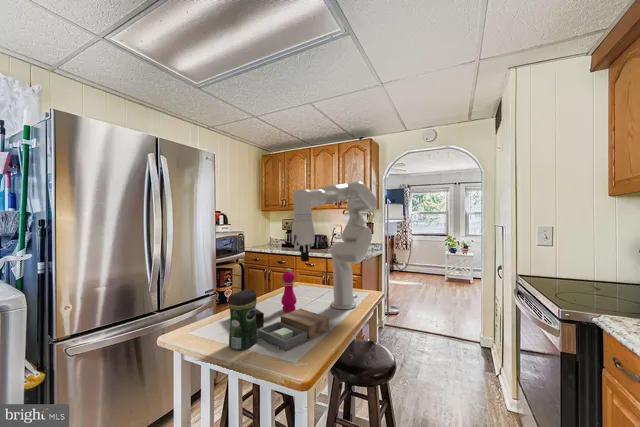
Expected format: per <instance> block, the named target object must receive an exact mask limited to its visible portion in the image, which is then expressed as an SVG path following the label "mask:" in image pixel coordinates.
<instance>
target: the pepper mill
mask: <svg viewBox="0 0 640 427" xmlns="http://www.w3.org/2000/svg"><path fill="white" fill-rule="evenodd" d="M281 277H282V278H281V279H282V280H283V283H282V284H283V286H284V292H283V294H282V297H281V301H280V302H281V305H283V306H282V311H283V312H284V313H290V312H293V311H295V310H297V309H296V304H297V296H296V294H295V292H294V284H295V283H294V282H295V279H296V276H295V273H294V272H293V271H291V268H290V267H289V268H286V271H285V272H284V273H283V274H282V276H281Z"/></svg>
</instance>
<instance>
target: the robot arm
mask: <svg viewBox="0 0 640 427" xmlns="http://www.w3.org/2000/svg"><path fill="white" fill-rule="evenodd" d="M292 201H293V202H292V203H293V218H294V219H293V221H294V222H292V228H291V244H292V245H293V246H294V249H295V250H298V251H299V253H300V259H301V260H300V261H301V262H306V263H307V262H309V261H310V253H309V252H310V250H311V248H312V247H313V246H315V241H316V239H315V237H316V234H315V228H314V222H313V215H312V207H320V206H321V207H322V206H323V205H325V204H334V203H335V204H336V203H338V202H343V201H346V206H347V210H348V214H349V218H348V220H347V223H346V224H345V227H344V228H343V231H342V233H341V239H342V240H341V241H342V242H340V241H337V242H336V243H334V244H333V245H332V247H331V249H330V255H331V256H330V257H331V259H332V266H333V267H332V268H333V269H332V270H333V274H332V275H333V276H332V277H333V301H331V302H330V306H331V307H332V308H333V309H337V310H351V309H355V307H357V303H356V301H355V299H357V298H358V295H357V294H354V293H353V292H354V290H353V288H354V287H353V286H354V284H353V280H354V279H353V267H352V265H351V263H355V264H359V263H361V262H362V261H363V260H364V259H365V257H366V255H367V253H368V251H369V248H370V245H371V243H372V240H373V239H372V238H373V231H372V229H371V228H370V227H369V226H366V225H365V219H364V217H363V215H362V213H361V212H366V211H367V212H369V211H371V212H372V211H374V210H376V208H377V206H378V200H377V198H376V196H375V194H374V193H373V192H372V190H371V189H370V188H369V187H368V186H367V185H366V184H365V183H364V182H362V181H353V182H344V183H338V184H333V185H327V186H323V187H318V188H313V189H312V188H311V189H295V190H293V192H292Z"/></svg>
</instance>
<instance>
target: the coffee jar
mask: <svg viewBox="0 0 640 427" xmlns="http://www.w3.org/2000/svg"><path fill="white" fill-rule="evenodd" d="M257 302H258V298H257V293H256V291H255V290H254V289H246V288H245V289H243V290H241V291H237V292H235V293H232V294H230V295H229V296H228V305H227V306H228V308H229V312H230V315H229V316H230V317H229V318H230V320H229V335H228V347H229V348H230V349H232V350H235V351H239V350H240V351H244V350H246V349H249V348H250V347H251V346H253V345H254V344H256V343H257V341H258V340H259V338H258V336H257V325H256V309H257V307H256V305H257Z"/></svg>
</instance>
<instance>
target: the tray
mask: <svg viewBox="0 0 640 427" xmlns="http://www.w3.org/2000/svg"><path fill="white" fill-rule="evenodd" d="M282 328H287V329H289V330H292V331H293V337H291V338H289V339H287V340H283V339H281V338H279V337H277V336H274V331H277V330H279V329H282ZM257 336H258V340H259V339H260V340H262V341H264V342H266V343H268V344H270V345H272V346H274V347H276V348H278V349H280V350H282V351H284V352H287V351H289V350H292V349H293V348H295V347H297V346H299V345H301V344H303V343H306V342H307V341H308V339H307V332H305V331H302V330H300V329H297V328H294V327H292V326H289V325H287V324H284V323H281V321H277V322H274V323H271V324H268V325H265V326H264V327H262V328H260V329H257Z"/></svg>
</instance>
